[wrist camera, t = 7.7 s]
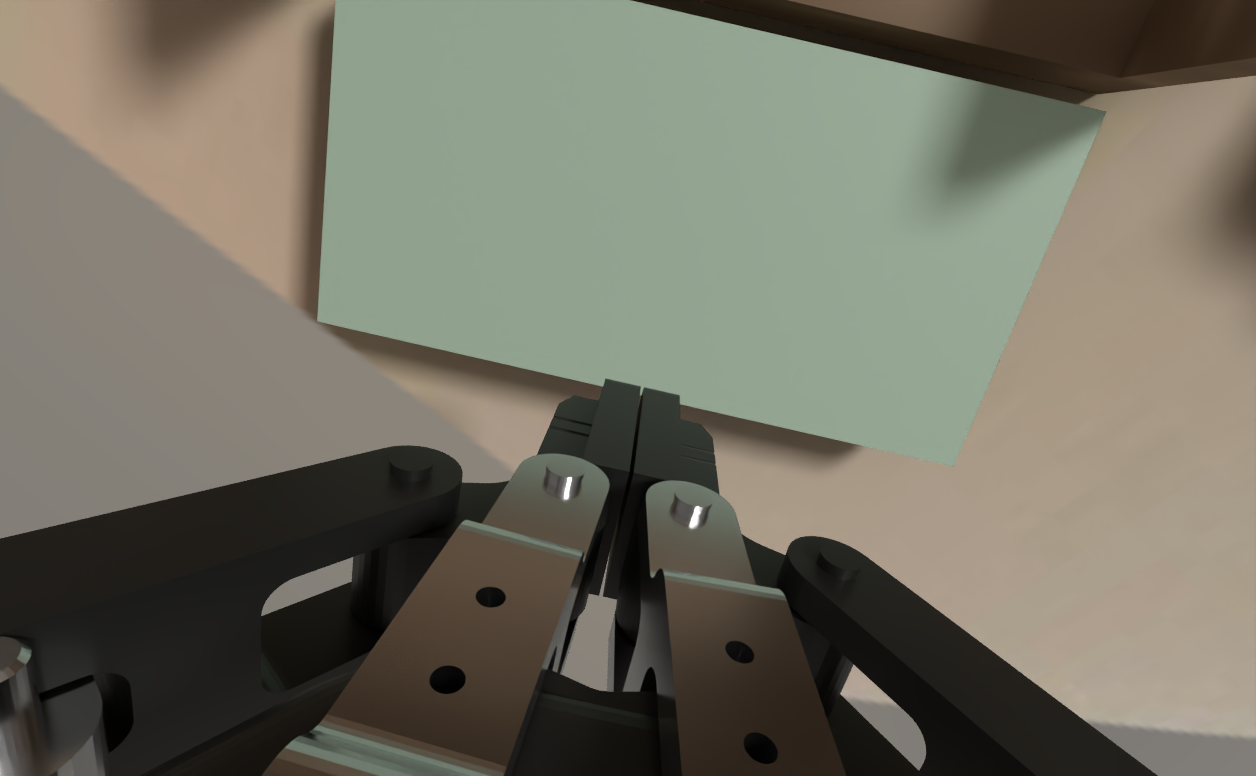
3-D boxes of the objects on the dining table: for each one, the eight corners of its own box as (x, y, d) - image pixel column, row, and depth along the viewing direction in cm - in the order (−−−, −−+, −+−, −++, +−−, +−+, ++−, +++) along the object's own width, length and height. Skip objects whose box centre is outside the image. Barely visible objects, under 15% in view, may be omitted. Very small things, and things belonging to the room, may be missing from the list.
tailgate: (339, -68, 16) (317, 321, 19) (1106, 111, 16) (953, 466, 19) (374, -44, 18) (349, 307, 21) (1061, 117, 18) (928, 439, 21)
